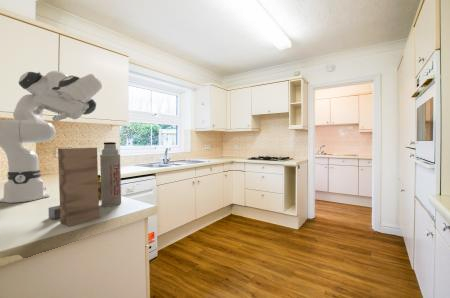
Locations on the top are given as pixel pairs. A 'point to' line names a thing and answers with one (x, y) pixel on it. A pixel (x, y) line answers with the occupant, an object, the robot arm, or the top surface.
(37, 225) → the top surface
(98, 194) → the condiment
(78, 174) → the pedestal
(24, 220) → the top surface
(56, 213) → the brushed metal plate
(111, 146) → the thermos bottle
